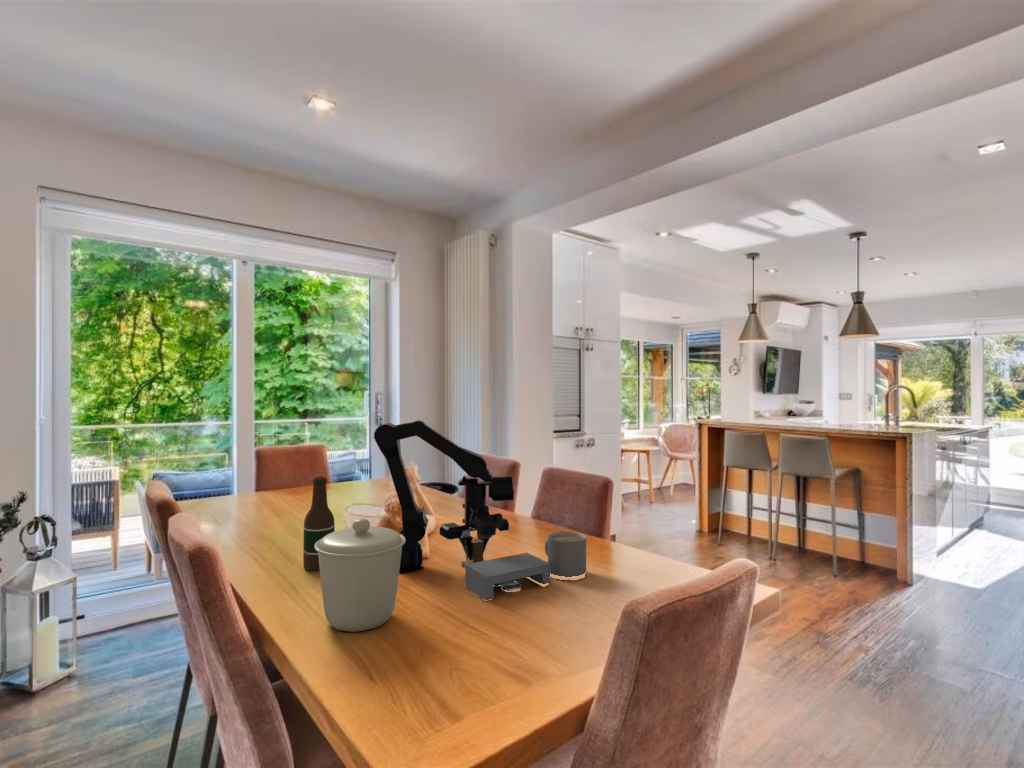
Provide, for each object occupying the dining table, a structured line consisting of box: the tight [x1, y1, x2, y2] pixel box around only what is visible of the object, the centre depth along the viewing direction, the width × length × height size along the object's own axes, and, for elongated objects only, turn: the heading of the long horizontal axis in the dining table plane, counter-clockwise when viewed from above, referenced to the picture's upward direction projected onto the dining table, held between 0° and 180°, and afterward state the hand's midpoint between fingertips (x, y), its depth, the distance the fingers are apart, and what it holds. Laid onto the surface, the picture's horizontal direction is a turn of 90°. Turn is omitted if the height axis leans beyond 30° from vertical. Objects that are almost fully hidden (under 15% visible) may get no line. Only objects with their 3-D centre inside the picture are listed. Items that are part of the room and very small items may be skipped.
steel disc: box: [500, 581, 522, 591], centre depth 127 cm, size 5×5×1 cm
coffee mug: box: [544, 530, 587, 577], centre depth 138 cm, size 13×10×10 cm
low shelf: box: [464, 552, 551, 600], centre depth 128 cm, size 18×10×6 cm, turn 122°
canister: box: [314, 517, 406, 633], centre depth 109 cm, size 18×18×21 cm
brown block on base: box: [460, 537, 517, 586], centre depth 136 cm, size 6×18×7 cm, turn 33°
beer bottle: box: [302, 476, 336, 572], centre depth 141 cm, size 8×8×24 cm
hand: (474, 558), depth 142 cm, fingers closed on brown block on base, 3 cm apart
